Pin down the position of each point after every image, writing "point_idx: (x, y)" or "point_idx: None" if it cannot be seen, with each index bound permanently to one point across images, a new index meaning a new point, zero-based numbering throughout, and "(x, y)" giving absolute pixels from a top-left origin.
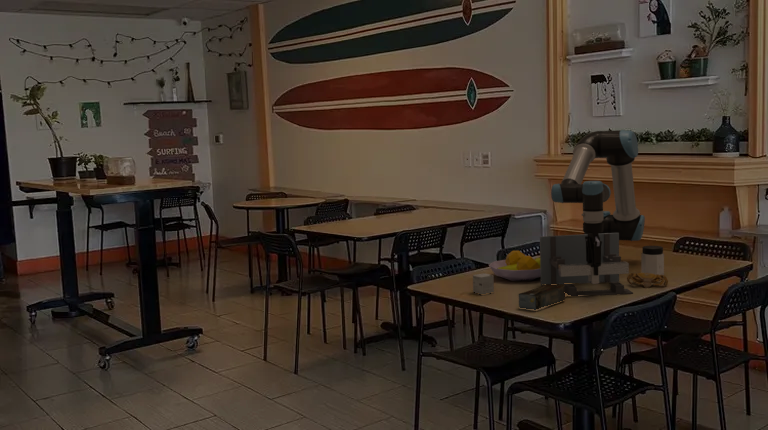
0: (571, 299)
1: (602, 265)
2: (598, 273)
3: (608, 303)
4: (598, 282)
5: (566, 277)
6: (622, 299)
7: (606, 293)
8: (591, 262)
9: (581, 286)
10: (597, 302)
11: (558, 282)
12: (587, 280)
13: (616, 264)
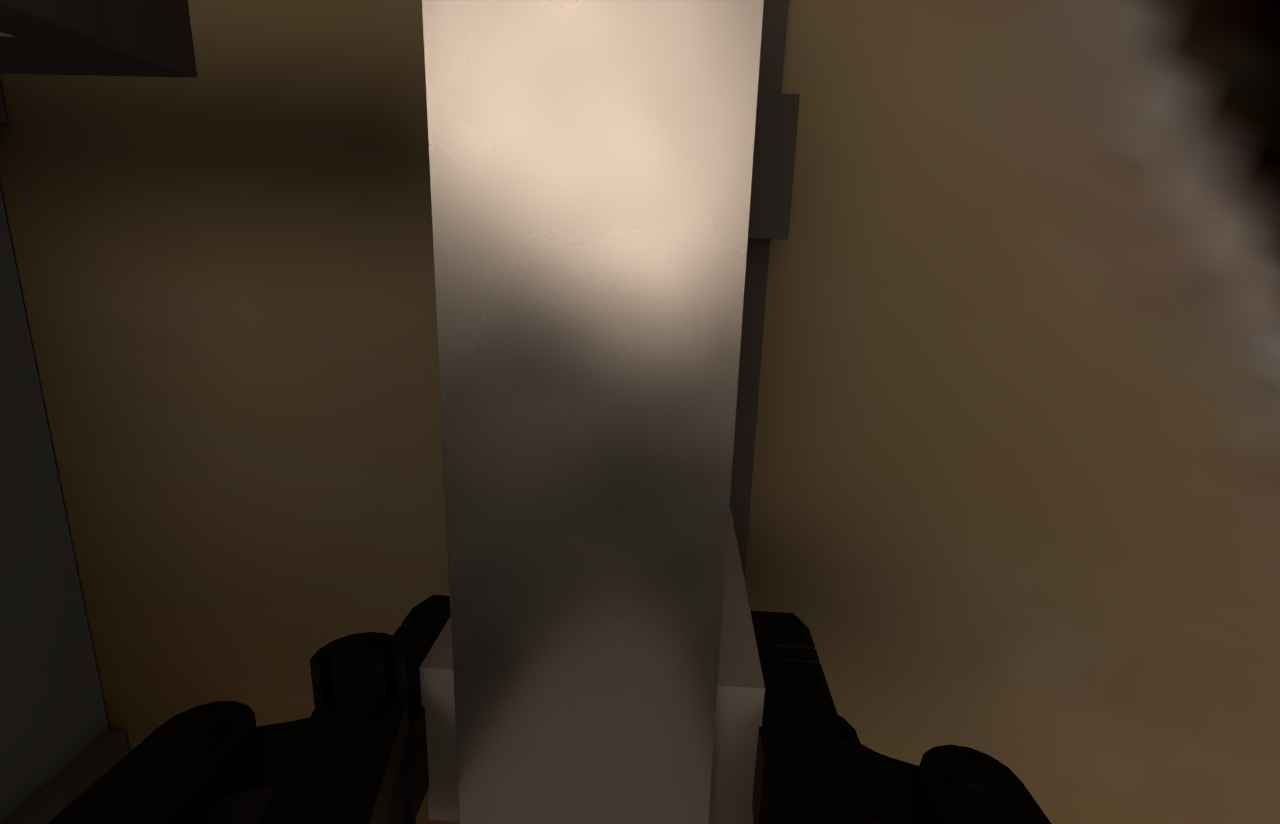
0: None
1: (718, 593)
2: (748, 605)
3: (1176, 494)
4: (730, 525)
5: (7, 670)
6: (1050, 253)
7: (739, 367)
8: (407, 788)
9: (222, 500)
10: (1076, 593)
11: (84, 721)
12: (1, 377)
13: (746, 163)
